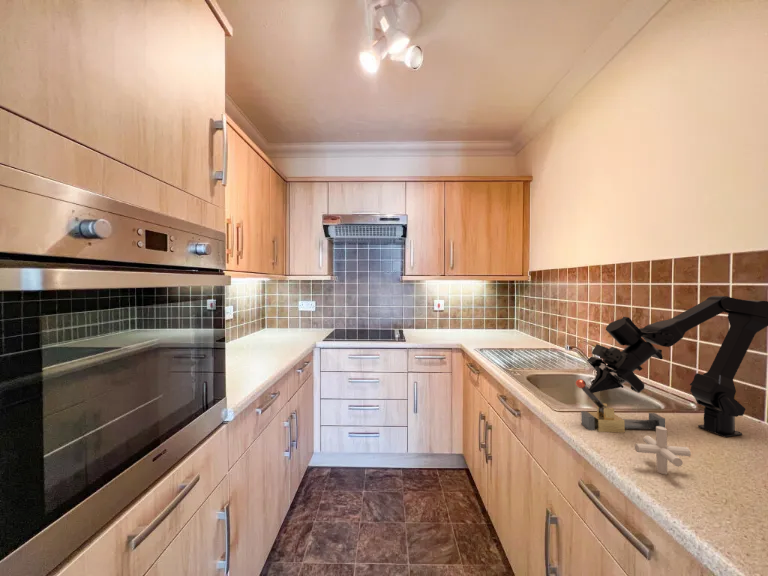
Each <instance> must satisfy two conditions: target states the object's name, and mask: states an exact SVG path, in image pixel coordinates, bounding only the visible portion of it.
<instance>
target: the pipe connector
mask: <svg viewBox="0 0 768 576" xmlns="http://www.w3.org/2000/svg"><path fill="white" fill-rule="evenodd" d="M667 433H668V429H667V428H666V427H665V428H664V427H661V426H656V430H655V439H654V438H653V437H651V436H650V435H645V436H643V442H645V443H637V442H636V443H634V445H633V446H634V450H635V451H636V453H643V454H646V453H647V454H656V472H657V473H658V474H662V475H668V461H669V463H671V464H672V465H674V466H675V467H678V468H679V467H682V465H683V462H684V461H683V460H682V459H681V458H680V457H679V456H681V457H683V456H684V457H690V456H691V455H692V453H691V452H692V451H691V450H690V448H689V447H687V446H676V445H675V446H674V445H668V434H667Z"/></svg>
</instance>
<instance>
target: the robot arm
mask: <svg viewBox="0 0 768 576" xmlns="http://www.w3.org/2000/svg"><path fill="white" fill-rule="evenodd" d="M722 313H726V314H727V320H728V323H729V328H728V330H727V332H726V334H725V337H724V339H723V340H722V343H721V345H720V347H719V349H718V351H717V353H716V355H715V358H713V359H714V360H713V362H712V363H711V365H710V368H709V369H708V371H706V372H705V373H703V374H701V373H699V372H696V373H695V374H694V376H693V380H692V382H691V383H690V384H689V386H690V393H691V394H692V395H691V396H692V397H693V398H694V399H695V401H696V404H697V405H700V406H703V407H704V408H703V424H699V425H697V427H698V428H700V429H702V430H704V431H707V432H710V433H713V434H715V435H718V436H721V437H722V438H723V437H724V438H729V437H734V436H736V437H737V436H742V435H743V433H742V432H740V431H738V430H736V417H739V416H740V417H743V416H744V415H745V411H746V407H744V406H743V405H742V404H741V403H740V402H739V401H737V400H736V399H735V396H736V392H737V391H736V385H735V382H734V378H735V377H736V374H737V372H738V370H739V368H740V366H741V364H742V362H743V360H744V358H745V356H746V354H747V352H748V350H749V348H750V346H751V344H752V342H753V340H754V338H755V336H756V334H757V333H759V332H760V331H762V330H764V329H765V328H767V327H768V300H756V299H755V300H754V299H739V298H735V297H732V296H731V297H730V296H729V295H728V296H727V295H711V296H708V297H707V298H706V299H705V300H703V301H701V302H699V303H698V304H696V305H694V306H692V307H690V308H689V309H687V310H685V311H683V312H681V313H679V314H677V315H676V316H673V317H672V318H668V319H664V320H659V321H656V322H652V323H650V324H648V325H645V326H644V327H641V328H640V327H638V326H637V325H636V324H635V323H634V322H633V320H632V319H631V318H630V317H629V316H623V317H622V318H619V319H616V320H613V321H612V322H609V324H607V326H606V327H605V331H606V332H607V333H608V334H609V335H610V336H611V337H612V338H613V339H614V340H615V341H616V342H617V344H619V345H621V346H626V347H625V348H624V349H622V350H620V349H618V348H617V347H613V346H610V347H609V348H608V347H605V346H604V345H601V344H597V343H596V345H595V346H594V348H593V349H592V352H591V354H592V355H594V356H590V357H589V358H588V359H587V360H586V361H587V363H588V364H589V365H590V366H591V367H592V368H593V369H594V370H595V371H596V376H595V378H594V379H593V381H592V383H591V385H590V386H589V387H588V388H589V389H590V390H591V392H592V393H593V394H595V393H598V392H602V391H603V392H604V391H607V390H608V391H609V390H614V389H619V388H620V389H623V388H624V384H625V383H628V385H629V386H630V389H631V390H632V391H633V392H635V393H637V394H640V393H641V392H643V390H645V383H644V382H643V380H642V379H641V378H639V377H638V375H637V374H636V373H635V371H642V370H644V369H643V367H642V365H643V364H645V363H646V362H647V361H648V360H650V359H651V358H655V359H658V360H663V354H662V352H663V351H662V349H660V348H656V347H655V346H654V345H656V346H661V347H664V348H670V347H673V346H674V345H676V344H677V343H678V342H679V341H681V340H682V339H683V337H684V335H685V334H686V333H687V332H689V331H690V330H692V329H694V328H695V327H697V326H700V325H702V324H703V323H705V322H707V321H709V320H710V319H713V318H714V317H716V316H718V315H720V314H722ZM597 356H598V357H597Z"/></svg>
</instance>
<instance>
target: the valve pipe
mask: <svg viewBox="0 0 768 576" xmlns="http://www.w3.org/2000/svg"><path fill="white" fill-rule="evenodd" d="M601 403H602V404H603V406H606V407H607V408H604V415H603V414H602V413H601V412H600V411H599V407H598V406H597V405H596V411H585V410H584V411H583V410H581V411H580V414H581V418H580V419H581V420H580V421H581V422H580V423H581V425H582V426H583V427H584V428H585V429H586V430H588V431H595V430H596V432H598V433H623V434H624V433H625V432H626V431H625V430H652V431H653V430H654V431H656V426H661V427H664V428H666V418H665V417H663V416H661V415H659V414H657V413H655V412H648V419H632V418H631V419H625V418H622V417H620V416H619V415H617V414H616V413H615V408H614V407H608V403H606V402H605V403H603V402H601Z"/></svg>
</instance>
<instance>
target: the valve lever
mask: <svg viewBox="0 0 768 576" xmlns="http://www.w3.org/2000/svg"><path fill="white" fill-rule="evenodd" d="M575 385H576V387H577V388H579V389H581V390H582V391H583V392H584V393H585V394H586V395H587V397H588V398H589V399H590V400H591V401H592V402H593V404H595V406H596V407H597V406H598V407H599V411H600V412H601V413H602V414H603V415H604V408H608V406H607V407H606V406H603V404H602V403H603V402H601V400H600V399H599V397H597V396H596V395H595V393H592V392H591V390H590V389H589V388H590V387H588V386H587V384H586V381H585V379H582V378H580V379H579V378H578V379H577V380H576V381H575Z"/></svg>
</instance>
